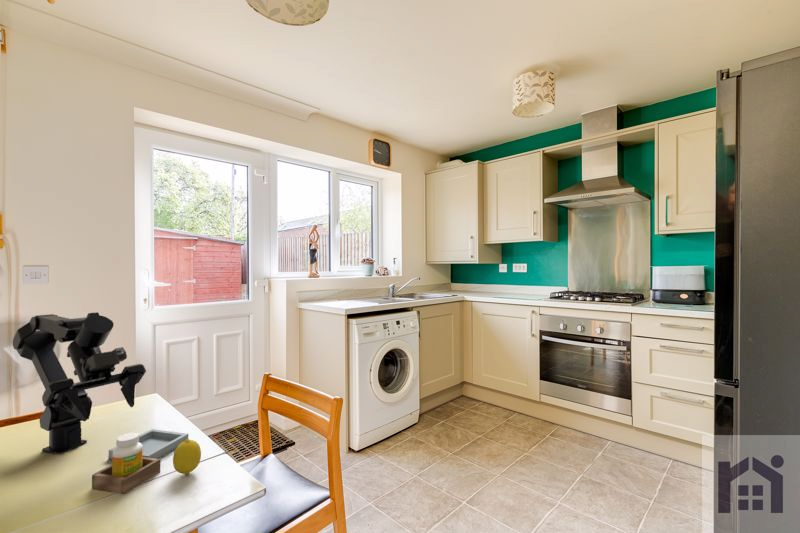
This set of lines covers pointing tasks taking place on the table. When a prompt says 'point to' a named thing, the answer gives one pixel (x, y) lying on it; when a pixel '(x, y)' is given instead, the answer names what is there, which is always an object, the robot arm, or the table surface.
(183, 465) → the lemon
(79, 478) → the table surface
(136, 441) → the supplement bottle
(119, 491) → the brown wooden open box
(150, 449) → the parts tray
